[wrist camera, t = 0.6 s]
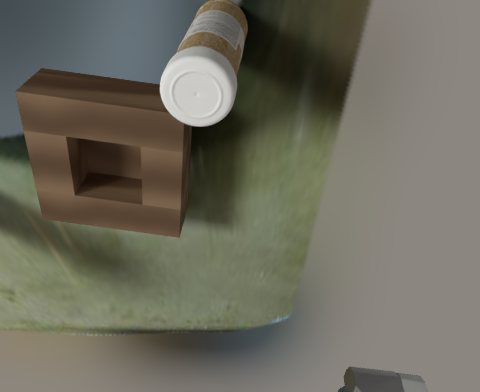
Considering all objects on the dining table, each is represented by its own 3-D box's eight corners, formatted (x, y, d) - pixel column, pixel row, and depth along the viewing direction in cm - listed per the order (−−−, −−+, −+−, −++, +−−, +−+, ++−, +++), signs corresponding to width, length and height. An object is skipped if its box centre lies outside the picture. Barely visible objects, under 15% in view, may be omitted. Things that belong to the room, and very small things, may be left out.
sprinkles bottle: (229, 62, 39) (209, 142, 28) (184, 32, 37) (144, 103, 27) (259, 18, 36) (249, 86, 26) (211, -16, 35) (180, 41, 24)
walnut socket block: (41, 68, 40) (15, 91, 36) (193, 89, 40) (184, 114, 36) (62, 189, 49) (42, 218, 45) (187, 206, 49) (179, 237, 45)
